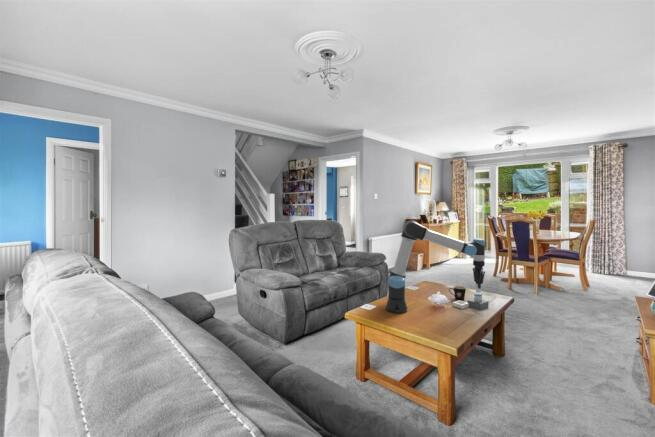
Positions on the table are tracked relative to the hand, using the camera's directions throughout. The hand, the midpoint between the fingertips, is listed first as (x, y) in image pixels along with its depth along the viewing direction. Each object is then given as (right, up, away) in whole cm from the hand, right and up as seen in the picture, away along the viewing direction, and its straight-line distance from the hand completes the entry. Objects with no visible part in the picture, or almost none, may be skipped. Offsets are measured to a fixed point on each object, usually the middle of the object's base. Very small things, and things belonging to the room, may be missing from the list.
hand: (478, 292), depth 227 cm
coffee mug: (-7, -10, +19) cm, 23 cm away
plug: (0, -11, +1) cm, 11 cm away
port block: (0, -11, +1) cm, 11 cm away
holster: (-12, -11, +1) cm, 17 cm away
